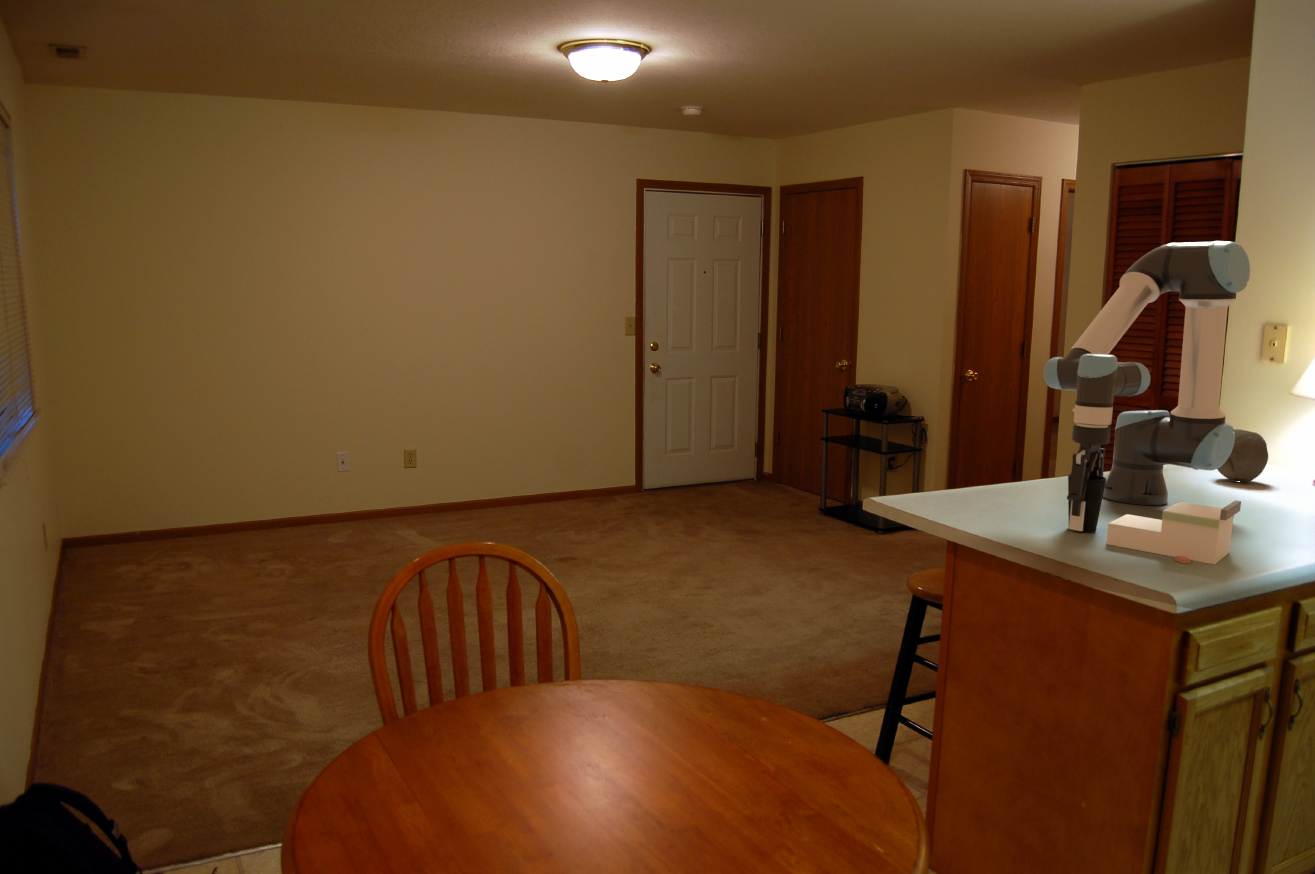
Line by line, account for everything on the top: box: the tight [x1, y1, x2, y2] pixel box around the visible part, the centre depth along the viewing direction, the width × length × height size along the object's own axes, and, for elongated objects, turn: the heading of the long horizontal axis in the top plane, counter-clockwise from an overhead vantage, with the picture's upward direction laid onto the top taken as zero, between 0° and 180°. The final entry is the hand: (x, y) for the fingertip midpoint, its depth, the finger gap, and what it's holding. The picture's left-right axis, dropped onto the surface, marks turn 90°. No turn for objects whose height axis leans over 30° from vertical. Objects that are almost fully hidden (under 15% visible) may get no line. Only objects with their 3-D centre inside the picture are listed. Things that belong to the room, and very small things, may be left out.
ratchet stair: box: [1106, 499, 1242, 565], centre depth 189 cm, size 16×21×11 cm
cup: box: [1067, 473, 1107, 534], centre depth 205 cm, size 8×8×12 cm
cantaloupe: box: [1216, 428, 1269, 483], centre depth 265 cm, size 14×14×15 cm
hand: (1082, 526), depth 206 cm, fingers closed on cup, 8 cm apart
